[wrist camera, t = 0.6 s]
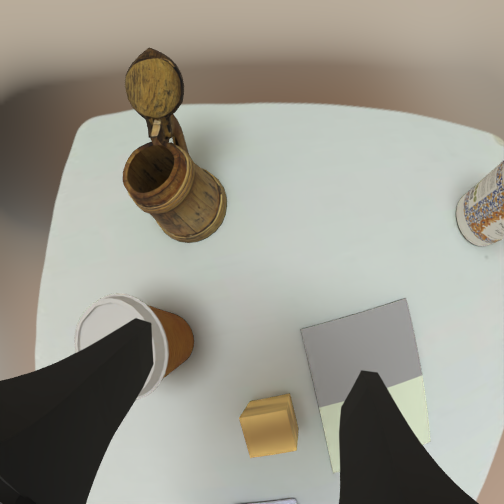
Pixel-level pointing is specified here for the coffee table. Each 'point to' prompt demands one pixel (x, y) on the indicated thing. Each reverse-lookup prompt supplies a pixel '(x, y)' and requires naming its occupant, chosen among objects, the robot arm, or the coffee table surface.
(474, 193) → the bath foam
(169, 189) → the wooden mug
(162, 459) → the coffee table surface
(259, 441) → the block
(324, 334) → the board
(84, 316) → the disposable coffee cup
